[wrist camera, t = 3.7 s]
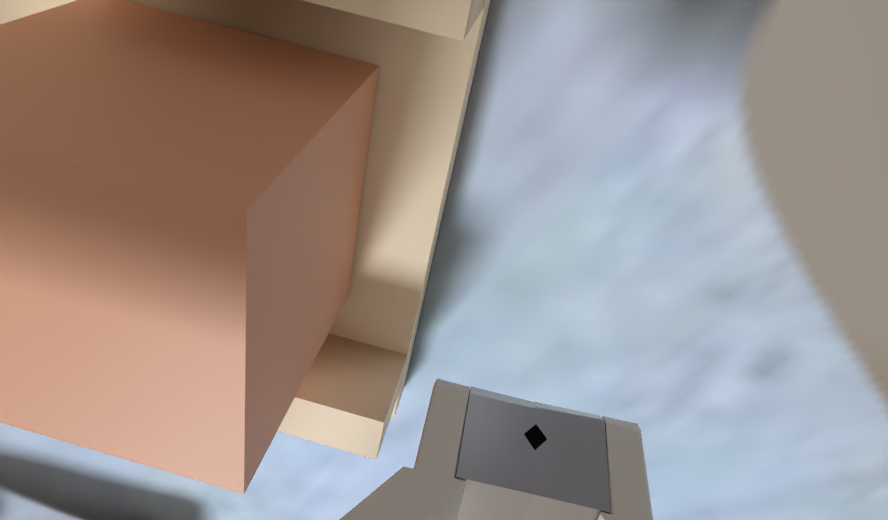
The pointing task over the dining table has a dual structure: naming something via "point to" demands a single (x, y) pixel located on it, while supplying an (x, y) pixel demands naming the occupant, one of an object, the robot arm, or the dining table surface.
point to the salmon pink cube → (171, 230)
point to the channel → (370, 184)
